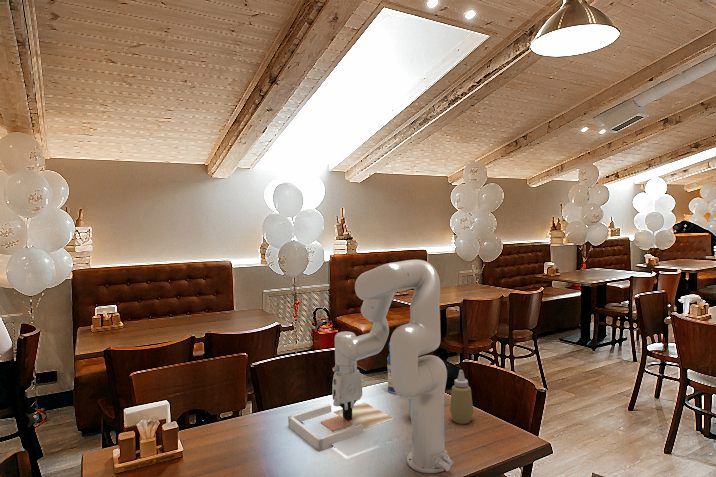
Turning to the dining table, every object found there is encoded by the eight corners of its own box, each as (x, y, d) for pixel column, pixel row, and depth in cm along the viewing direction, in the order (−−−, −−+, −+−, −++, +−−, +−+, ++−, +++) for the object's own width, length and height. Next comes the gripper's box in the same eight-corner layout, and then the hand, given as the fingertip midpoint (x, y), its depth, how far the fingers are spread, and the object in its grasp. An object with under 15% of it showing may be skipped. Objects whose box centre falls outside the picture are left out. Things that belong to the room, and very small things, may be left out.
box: (363, 435, 158) (363, 425, 158) (319, 451, 149) (319, 440, 148) (329, 413, 176) (329, 404, 175) (288, 426, 166) (288, 416, 166)
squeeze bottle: (475, 425, 163) (475, 374, 162) (452, 426, 163) (451, 374, 162) (470, 415, 171) (470, 366, 170) (448, 415, 171) (447, 366, 170)
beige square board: (394, 421, 168) (394, 418, 168) (361, 432, 160) (361, 430, 160) (364, 404, 183) (364, 402, 182) (333, 414, 175) (333, 411, 174)
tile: (352, 429, 164) (352, 423, 164) (333, 436, 159) (332, 430, 159) (340, 420, 170) (340, 415, 170) (321, 427, 166) (320, 421, 166)
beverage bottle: (411, 388, 197) (410, 341, 196) (402, 396, 190) (401, 346, 189) (393, 385, 202) (392, 338, 200) (384, 392, 194) (382, 344, 193)
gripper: (333, 375, 159) (335, 429, 160) (369, 366, 167) (371, 417, 168) (322, 369, 165) (323, 421, 166) (357, 360, 173) (359, 409, 175)
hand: (347, 418), depth 167 cm, fingers closed
